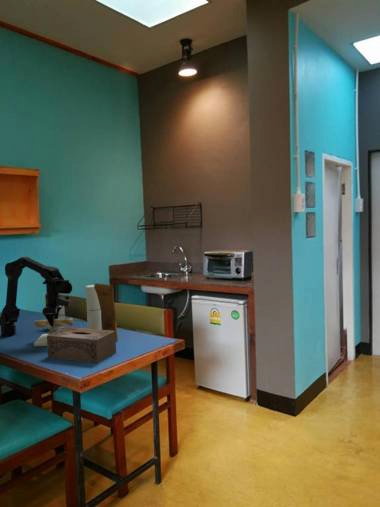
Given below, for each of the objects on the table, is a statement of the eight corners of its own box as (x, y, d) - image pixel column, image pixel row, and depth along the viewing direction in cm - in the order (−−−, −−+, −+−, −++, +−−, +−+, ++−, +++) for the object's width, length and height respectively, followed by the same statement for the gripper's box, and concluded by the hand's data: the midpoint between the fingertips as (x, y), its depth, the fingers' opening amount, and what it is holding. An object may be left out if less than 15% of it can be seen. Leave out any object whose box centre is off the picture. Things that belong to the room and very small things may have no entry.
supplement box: (54, 330, 219) (53, 308, 218) (46, 328, 224) (45, 306, 223) (65, 327, 225) (64, 305, 224) (58, 325, 230) (56, 304, 229)
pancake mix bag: (109, 344, 191) (106, 286, 189) (95, 335, 207) (92, 282, 205) (122, 341, 195) (119, 285, 193) (107, 333, 211) (105, 280, 209)
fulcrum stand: (34, 346, 191) (33, 330, 191) (43, 336, 207) (42, 322, 207) (68, 344, 193) (67, 329, 193) (74, 335, 209) (73, 321, 208)
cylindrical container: (98, 334, 210) (95, 287, 208) (85, 333, 211) (83, 287, 209) (103, 330, 217) (101, 285, 215) (91, 330, 218) (89, 284, 216)
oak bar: (73, 324, 202) (73, 318, 202) (72, 325, 199) (71, 319, 199) (36, 326, 200) (36, 320, 200) (35, 327, 197) (34, 321, 197)
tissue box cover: (48, 357, 175) (46, 335, 174) (68, 347, 188) (67, 327, 188) (97, 363, 166) (96, 340, 165) (116, 352, 179) (115, 330, 178)
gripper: (65, 295, 190) (66, 327, 191) (72, 289, 208) (74, 318, 210) (41, 296, 189) (43, 329, 190) (50, 290, 207) (52, 319, 209)
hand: (54, 323), depth 200 cm, fingers open, 9 cm apart
